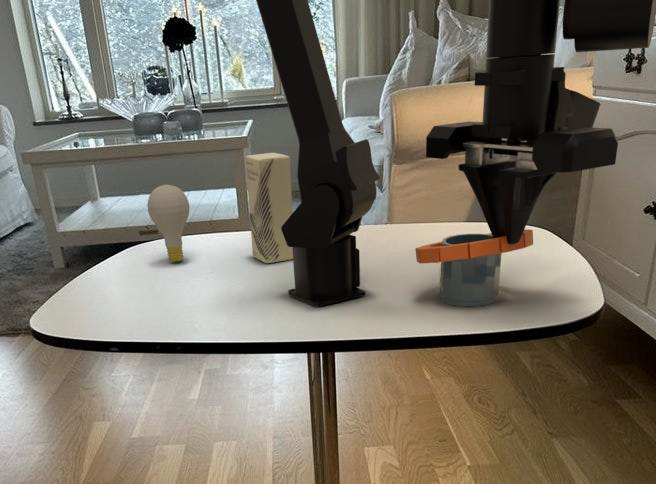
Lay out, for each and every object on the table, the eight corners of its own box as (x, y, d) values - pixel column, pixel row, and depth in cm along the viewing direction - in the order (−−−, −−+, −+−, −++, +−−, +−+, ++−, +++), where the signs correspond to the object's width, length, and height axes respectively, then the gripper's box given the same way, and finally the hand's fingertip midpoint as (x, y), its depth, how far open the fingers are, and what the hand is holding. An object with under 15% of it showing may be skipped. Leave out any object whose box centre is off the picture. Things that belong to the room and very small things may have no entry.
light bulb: (148, 264, 102) (135, 187, 97) (178, 256, 105) (167, 180, 100) (174, 269, 99) (162, 189, 94) (204, 260, 102) (194, 182, 97)
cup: (465, 310, 76) (468, 249, 73) (428, 297, 80) (429, 240, 77) (510, 298, 78) (515, 239, 75) (471, 286, 83) (474, 231, 80)
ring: (467, 261, 69) (466, 245, 69) (396, 264, 79) (394, 251, 79) (556, 240, 74) (556, 226, 73) (479, 246, 84) (477, 233, 83)
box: (252, 257, 102) (242, 155, 95) (281, 252, 103) (274, 151, 97) (267, 265, 97) (258, 158, 91) (297, 259, 99) (291, 154, 92)
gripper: (678, 46, 60) (645, 243, 68) (513, 54, 75) (502, 216, 82) (579, 55, 56) (556, 265, 63) (424, 62, 70) (421, 232, 78)
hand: (506, 242), depth 72 cm, fingers closed on ring, 1 cm apart
